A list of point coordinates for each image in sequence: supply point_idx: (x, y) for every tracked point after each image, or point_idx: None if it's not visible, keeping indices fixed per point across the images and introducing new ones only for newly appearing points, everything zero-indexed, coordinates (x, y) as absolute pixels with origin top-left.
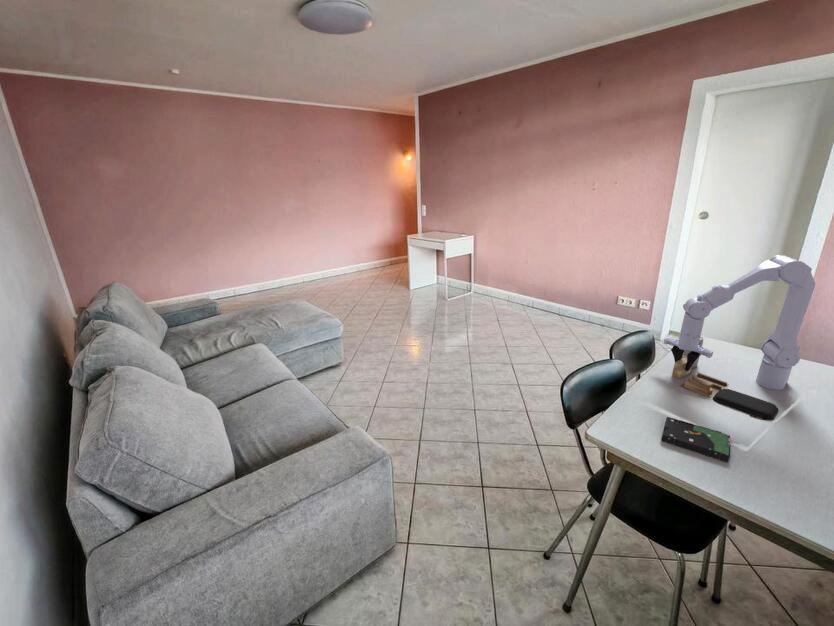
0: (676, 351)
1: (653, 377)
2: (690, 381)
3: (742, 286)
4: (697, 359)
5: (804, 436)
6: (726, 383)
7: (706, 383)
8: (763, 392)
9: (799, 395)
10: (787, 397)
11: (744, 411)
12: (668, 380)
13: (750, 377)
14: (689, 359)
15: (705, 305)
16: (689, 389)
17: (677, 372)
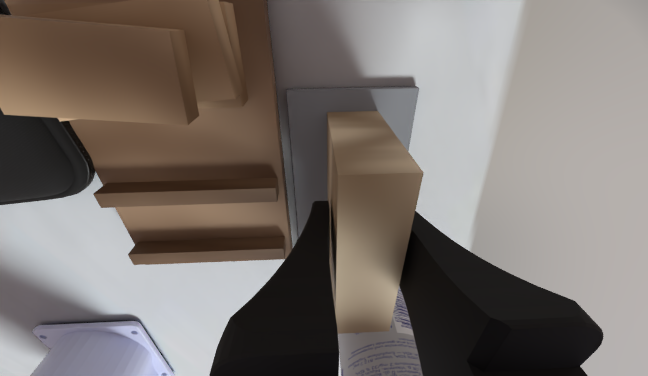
0: (513, 319)
1: (482, 6)
2: (173, 23)
3: None
4: (340, 345)
5: None
6: (129, 254)
7: (11, 56)
8: (72, 305)
9: (28, 355)
10: (18, 326)
11: None
12: (378, 62)
13: (186, 356)
14: (304, 281)
15: None
16: None
17: (354, 131)
